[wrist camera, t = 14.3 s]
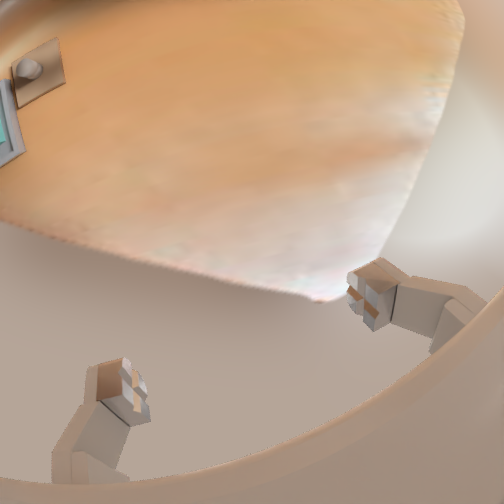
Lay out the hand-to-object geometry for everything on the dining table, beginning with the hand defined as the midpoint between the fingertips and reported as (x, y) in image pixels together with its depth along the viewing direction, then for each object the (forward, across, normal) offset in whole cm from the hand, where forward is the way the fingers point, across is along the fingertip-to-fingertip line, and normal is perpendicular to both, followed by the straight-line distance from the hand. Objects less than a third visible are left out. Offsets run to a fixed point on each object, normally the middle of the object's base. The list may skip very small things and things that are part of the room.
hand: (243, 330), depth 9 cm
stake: (+29, +14, -20) cm, 38 cm away
